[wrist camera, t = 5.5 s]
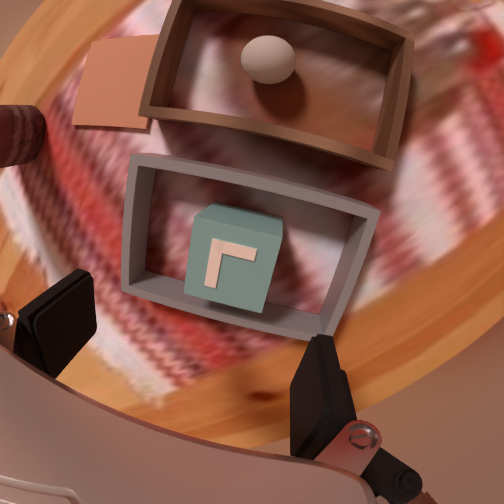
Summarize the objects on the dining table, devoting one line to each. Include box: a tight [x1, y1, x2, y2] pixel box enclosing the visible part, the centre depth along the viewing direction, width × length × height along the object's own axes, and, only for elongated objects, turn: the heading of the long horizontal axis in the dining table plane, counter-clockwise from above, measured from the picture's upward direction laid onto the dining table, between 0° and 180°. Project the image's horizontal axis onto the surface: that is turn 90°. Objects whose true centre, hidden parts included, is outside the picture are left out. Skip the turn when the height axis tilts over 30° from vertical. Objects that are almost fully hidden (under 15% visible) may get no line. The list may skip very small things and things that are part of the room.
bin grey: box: [121, 153, 381, 341], centre depth 19 cm, size 16×10×3 cm, turn 77°
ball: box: [241, 36, 296, 84], centre depth 14 cm, size 4×4×4 cm
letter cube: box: [184, 202, 283, 313], centre depth 18 cm, size 5×5×5 cm
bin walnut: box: [138, 0, 415, 172], centre depth 15 cm, size 16×10×3 cm, turn 77°
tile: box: [71, 34, 160, 129], centre depth 17 cm, size 8×8×1 cm
